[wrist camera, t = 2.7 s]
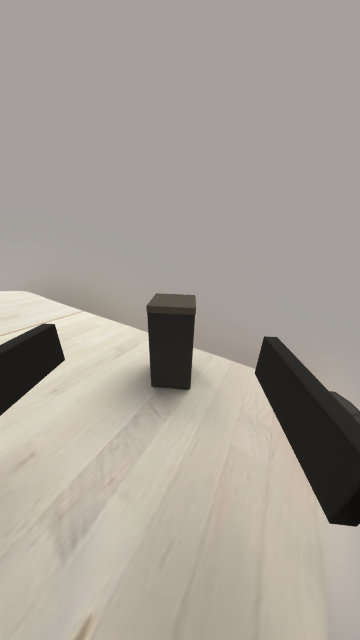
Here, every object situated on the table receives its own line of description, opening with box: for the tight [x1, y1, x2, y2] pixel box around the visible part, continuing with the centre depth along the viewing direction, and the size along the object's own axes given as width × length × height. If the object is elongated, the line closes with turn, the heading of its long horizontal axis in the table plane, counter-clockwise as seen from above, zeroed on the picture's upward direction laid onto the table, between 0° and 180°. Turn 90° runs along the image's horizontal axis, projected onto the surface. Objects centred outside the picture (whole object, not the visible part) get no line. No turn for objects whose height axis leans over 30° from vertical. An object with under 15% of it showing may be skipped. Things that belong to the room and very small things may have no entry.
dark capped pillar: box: [147, 294, 196, 389], centre depth 22 cm, size 5×5×11 cm
